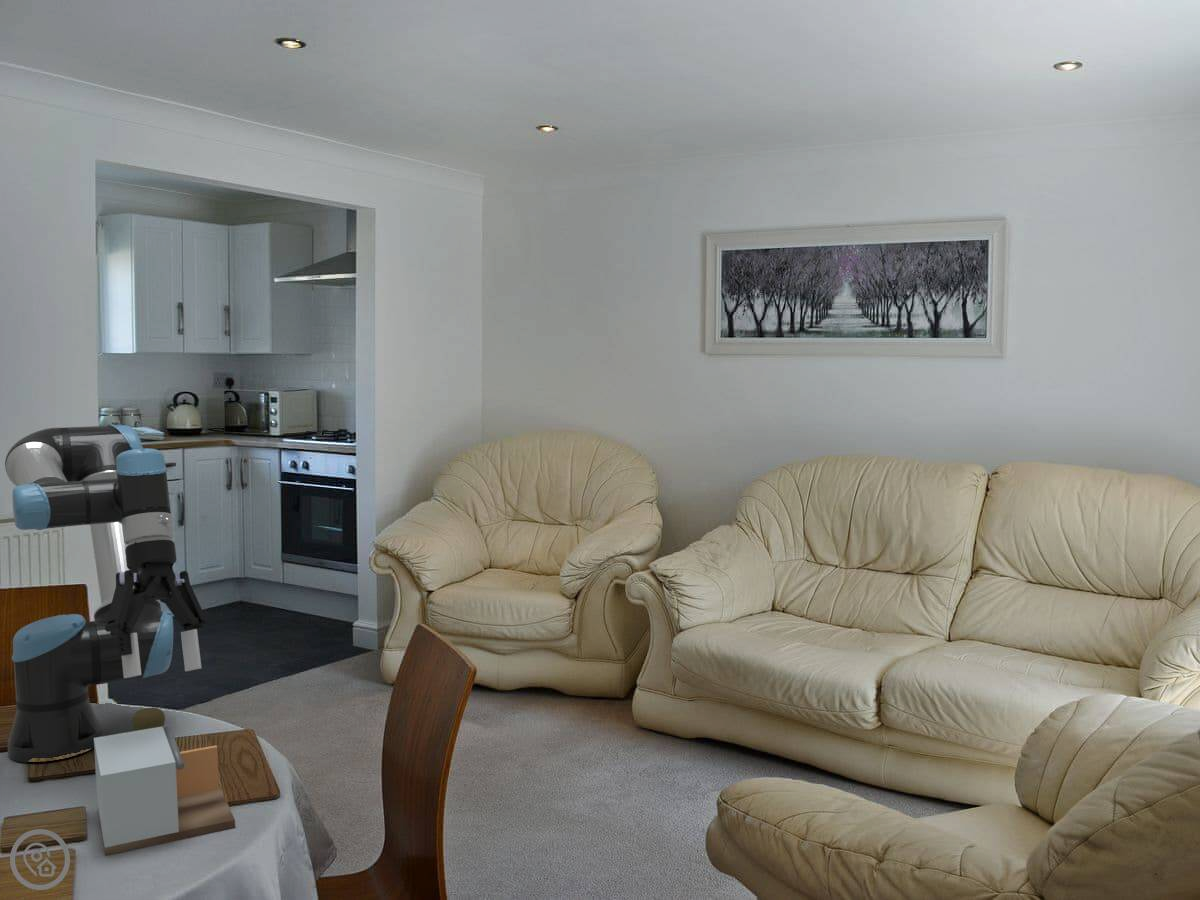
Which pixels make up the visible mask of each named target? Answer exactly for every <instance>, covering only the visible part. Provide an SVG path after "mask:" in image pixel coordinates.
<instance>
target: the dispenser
mask: <svg viewBox="0 0 1200 900" xmlns="http://www.w3.org/2000/svg"><path fill="white" fill-rule="evenodd" d="M93 750H94V766H95V767H94V768H95V783H96V784H95V785H96V800H97V801H96V802H97V803H96V804H98V805H97V811H98V810H99V815H98V817H99V816H100V821H99V823H100V822H101V827H100V829H101V828H102V833H101V835H102V834H103V840H104V846H105V847H110V846H115V845H120V844H124V843H129V842H134V841H138V840H143V839H148V838H152V837H157V836H162V835H166V834H171V833H176V832H179V825H178V804H177V782H176V769H178V770H181V769H183V768H184V762H183V760H182V757H181V754H180V752H181V751H180V750H179V747H178V745H177V742H176V739H175V736H174V733H173V731H172V728H171V727H170V726H168V725H167V726H165V727H164V725H163V726H162V727H156V728H150V729H144V730H138V731H135V730H134V731H128V732H120V733H115V734H110V735H103V736H102V737H97V738H94V749H93ZM103 840H102V841H103ZM104 846H103V847H104Z"/></svg>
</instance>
